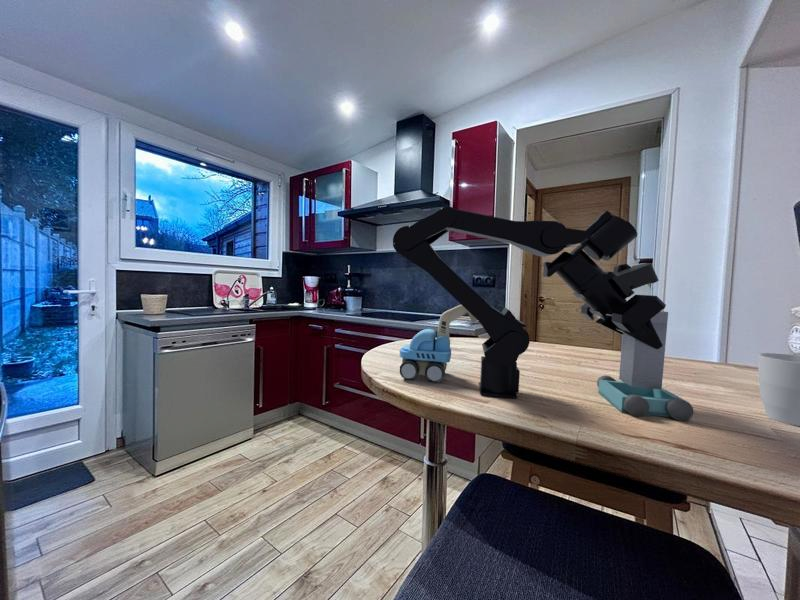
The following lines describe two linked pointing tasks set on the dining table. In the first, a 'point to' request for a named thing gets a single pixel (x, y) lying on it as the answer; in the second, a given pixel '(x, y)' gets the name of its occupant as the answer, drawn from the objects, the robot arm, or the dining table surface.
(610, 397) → the chassis
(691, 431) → the dining table surface
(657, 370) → the grey tall block
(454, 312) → the toy excavator
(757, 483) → the dining table surface
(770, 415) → the cup
